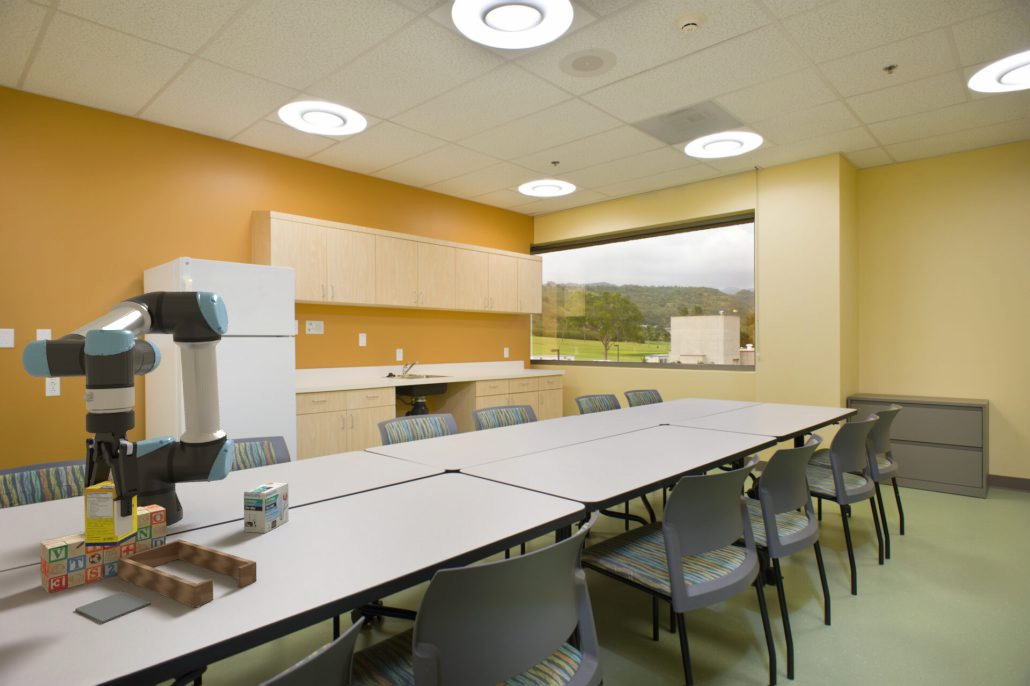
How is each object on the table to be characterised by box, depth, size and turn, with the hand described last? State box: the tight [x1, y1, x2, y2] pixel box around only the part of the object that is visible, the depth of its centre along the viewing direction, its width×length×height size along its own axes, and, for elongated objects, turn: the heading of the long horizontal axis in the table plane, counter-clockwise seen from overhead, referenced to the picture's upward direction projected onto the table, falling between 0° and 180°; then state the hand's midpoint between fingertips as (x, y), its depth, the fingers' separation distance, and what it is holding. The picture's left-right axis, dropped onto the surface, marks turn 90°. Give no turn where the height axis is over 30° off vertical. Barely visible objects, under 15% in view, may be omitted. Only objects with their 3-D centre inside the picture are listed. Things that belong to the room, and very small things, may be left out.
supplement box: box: [83, 480, 137, 547], centre depth 105 cm, size 6×6×11 cm
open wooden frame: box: [117, 539, 258, 608], centre depth 117 cm, size 28×13×4 cm, turn 61°
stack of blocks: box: [40, 504, 167, 594], centre depth 121 cm, size 21×6×12 cm, turn 141°
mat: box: [75, 591, 151, 625], centre depth 105 cm, size 10×8×1 cm
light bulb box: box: [243, 481, 290, 534], centre depth 150 cm, size 11×7×11 cm, turn 168°
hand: (111, 529), depth 105 cm, fingers closed on supplement box, 8 cm apart
